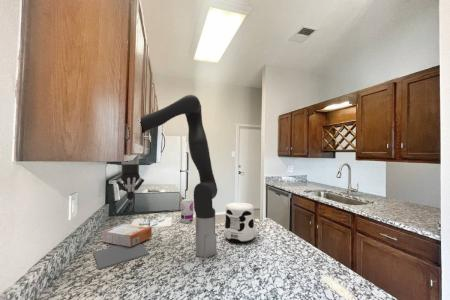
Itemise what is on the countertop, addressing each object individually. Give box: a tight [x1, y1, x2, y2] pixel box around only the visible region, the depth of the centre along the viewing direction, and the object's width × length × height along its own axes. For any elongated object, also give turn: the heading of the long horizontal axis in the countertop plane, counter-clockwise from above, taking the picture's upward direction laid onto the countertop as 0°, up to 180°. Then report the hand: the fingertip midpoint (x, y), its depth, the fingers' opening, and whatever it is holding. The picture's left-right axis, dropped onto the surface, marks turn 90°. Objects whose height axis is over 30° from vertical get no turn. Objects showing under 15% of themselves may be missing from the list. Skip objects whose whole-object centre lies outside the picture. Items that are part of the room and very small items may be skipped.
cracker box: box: [102, 223, 153, 247], centre depth 110 cm, size 14×6×21 cm
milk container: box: [223, 201, 257, 243], centre depth 113 cm, size 17×17×18 cm
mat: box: [92, 243, 150, 271], centre depth 95 cm, size 18×20×1 cm
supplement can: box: [180, 198, 194, 224], centre depth 141 cm, size 8×8×15 cm
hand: (130, 199), depth 98 cm, fingers closed
